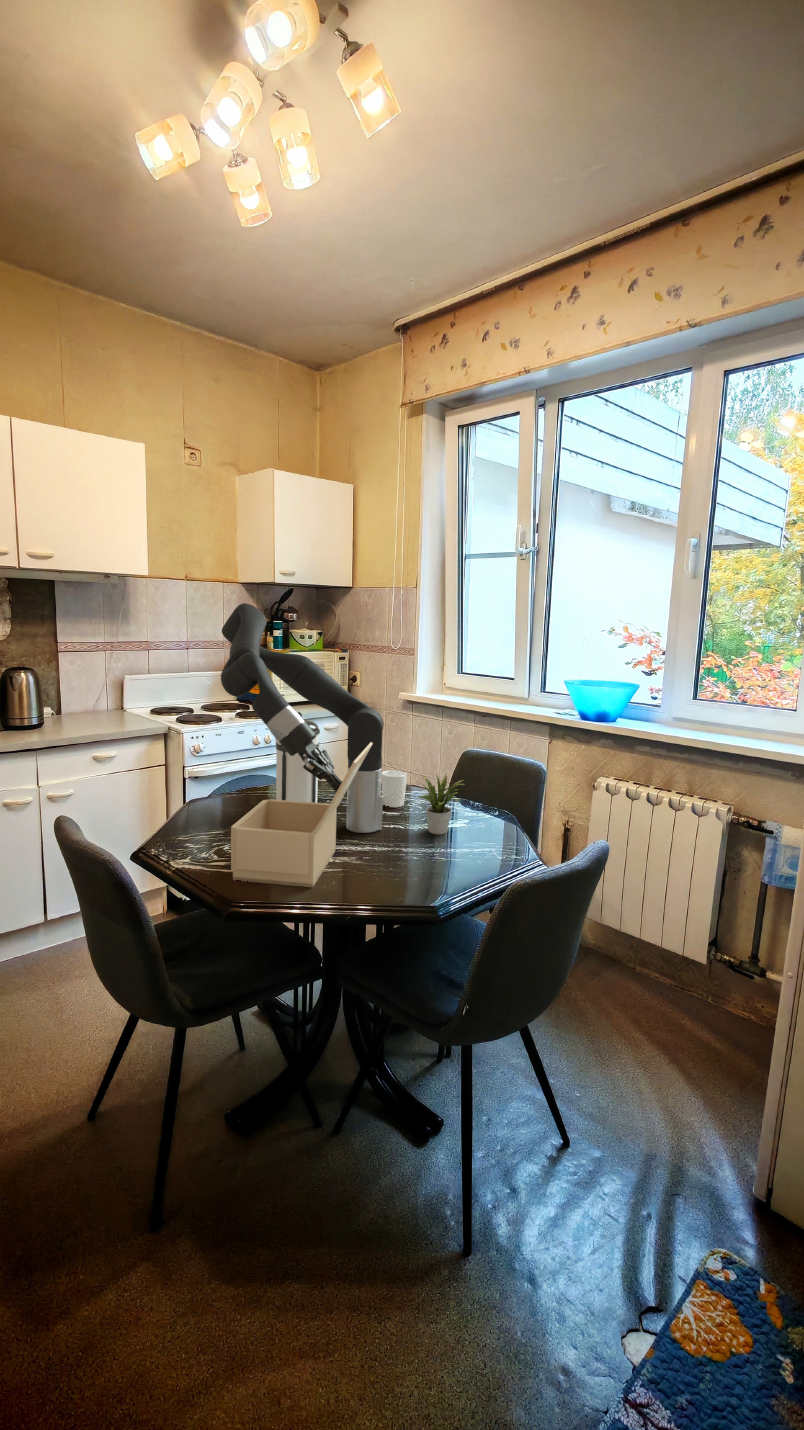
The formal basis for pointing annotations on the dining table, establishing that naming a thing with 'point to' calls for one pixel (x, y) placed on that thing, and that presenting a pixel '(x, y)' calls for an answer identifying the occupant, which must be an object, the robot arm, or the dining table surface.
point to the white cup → (393, 788)
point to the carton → (283, 843)
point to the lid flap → (344, 786)
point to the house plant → (439, 805)
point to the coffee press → (295, 774)
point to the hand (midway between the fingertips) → (340, 788)
